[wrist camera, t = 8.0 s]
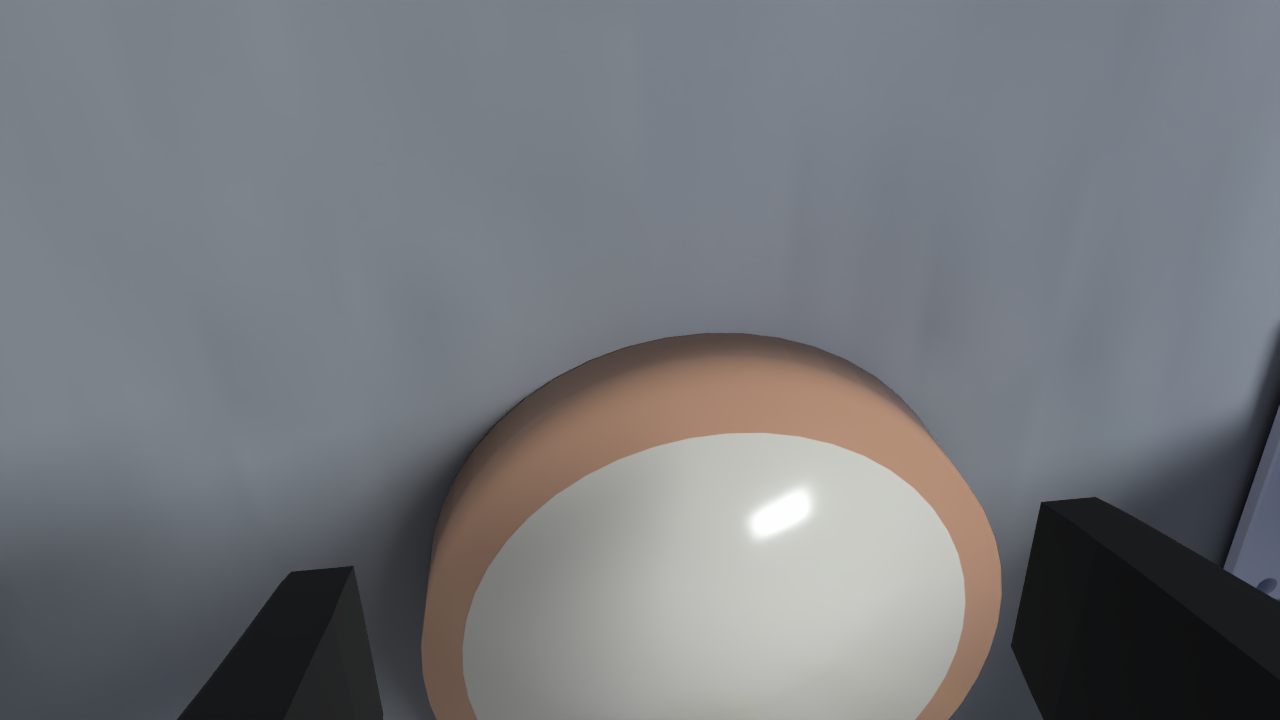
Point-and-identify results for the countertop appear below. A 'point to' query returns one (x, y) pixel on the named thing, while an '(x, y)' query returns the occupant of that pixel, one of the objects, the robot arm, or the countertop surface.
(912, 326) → the countertop surface
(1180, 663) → the robot arm
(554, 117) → the countertop surface
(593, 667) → the terracotta dish
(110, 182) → the countertop surface
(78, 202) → the countertop surface
